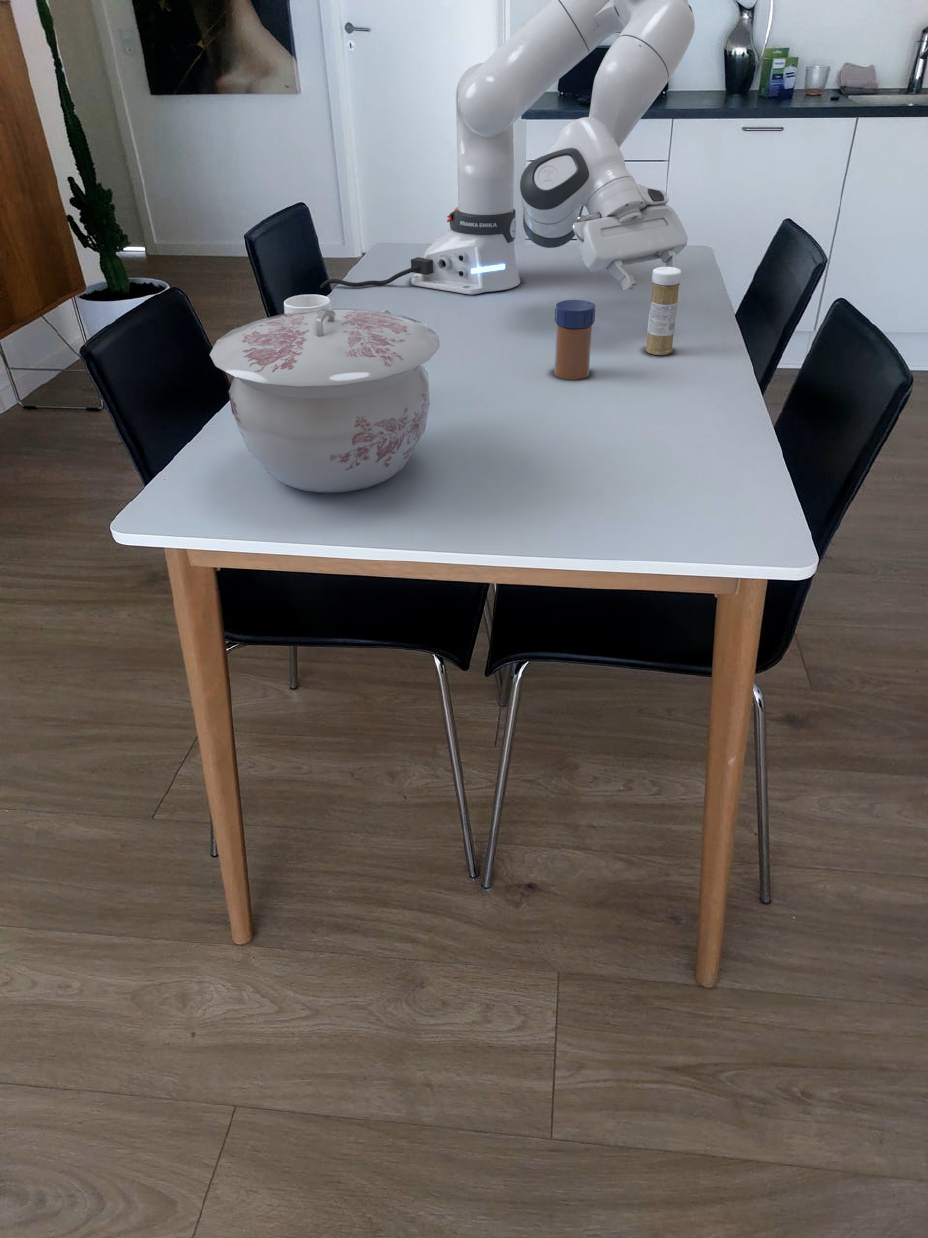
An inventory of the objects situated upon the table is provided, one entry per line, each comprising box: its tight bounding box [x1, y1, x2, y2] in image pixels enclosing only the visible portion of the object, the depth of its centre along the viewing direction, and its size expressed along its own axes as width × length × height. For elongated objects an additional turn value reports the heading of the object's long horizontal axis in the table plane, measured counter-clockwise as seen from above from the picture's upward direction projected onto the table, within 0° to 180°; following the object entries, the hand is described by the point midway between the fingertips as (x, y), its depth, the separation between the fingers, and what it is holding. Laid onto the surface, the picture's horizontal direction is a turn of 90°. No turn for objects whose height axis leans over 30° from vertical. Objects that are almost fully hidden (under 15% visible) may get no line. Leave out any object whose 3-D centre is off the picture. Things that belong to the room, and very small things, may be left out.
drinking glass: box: [283, 294, 333, 314], centre depth 139 cm, size 7×7×15 cm
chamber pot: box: [209, 307, 441, 494], centre depth 117 cm, size 28×28×21 cm
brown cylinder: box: [554, 324, 593, 381], centre depth 149 cm, size 6×6×10 cm
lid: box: [554, 299, 596, 328], centre depth 146 cm, size 6×6×3 cm
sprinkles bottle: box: [645, 266, 682, 356], centre depth 156 cm, size 5×5×14 cm
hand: (652, 282), depth 156 cm, fingers open, 8 cm apart
